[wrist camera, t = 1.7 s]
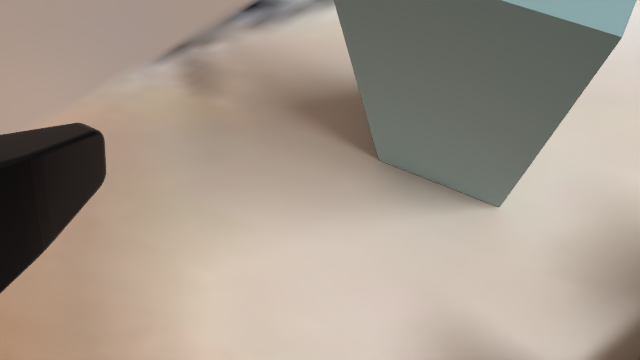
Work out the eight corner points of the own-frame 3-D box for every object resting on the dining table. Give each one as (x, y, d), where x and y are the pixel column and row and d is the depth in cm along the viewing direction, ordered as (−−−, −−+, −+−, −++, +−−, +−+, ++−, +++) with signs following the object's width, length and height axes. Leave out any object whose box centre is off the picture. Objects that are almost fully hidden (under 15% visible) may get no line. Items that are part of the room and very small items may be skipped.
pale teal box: (499, 207, 20) (622, 37, 8) (378, 160, 21) (318, -56, 9) (530, 129, 21) (695, -150, 8) (410, 87, 22) (395, -217, 9)
